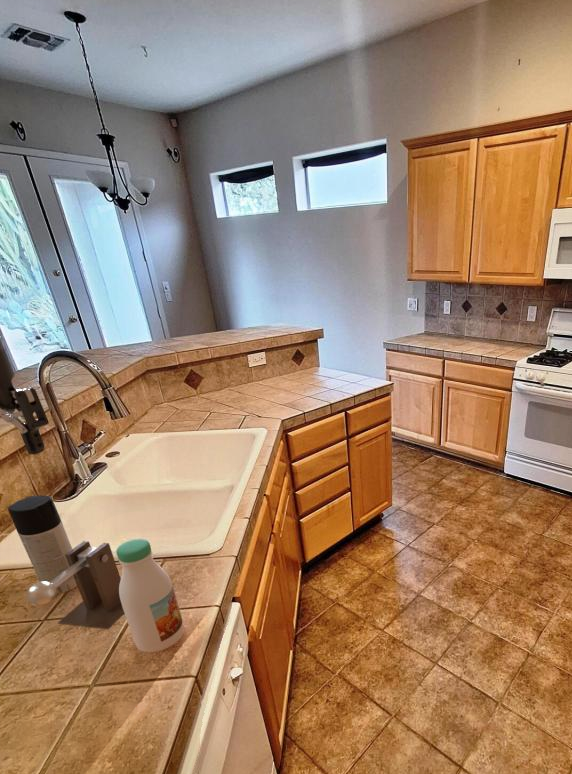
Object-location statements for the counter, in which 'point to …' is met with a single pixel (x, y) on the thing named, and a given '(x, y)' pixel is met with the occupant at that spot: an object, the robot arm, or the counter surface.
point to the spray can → (43, 538)
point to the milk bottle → (148, 598)
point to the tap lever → (56, 580)
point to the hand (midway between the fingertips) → (13, 451)
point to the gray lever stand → (95, 588)
